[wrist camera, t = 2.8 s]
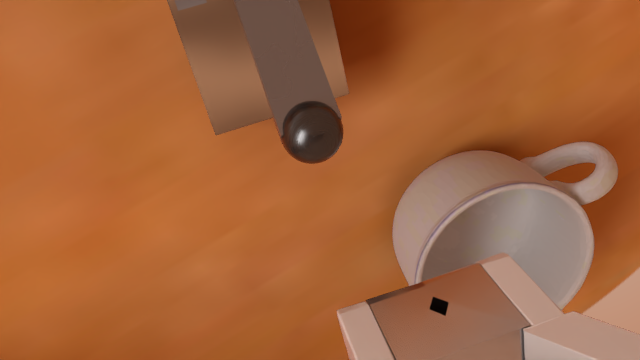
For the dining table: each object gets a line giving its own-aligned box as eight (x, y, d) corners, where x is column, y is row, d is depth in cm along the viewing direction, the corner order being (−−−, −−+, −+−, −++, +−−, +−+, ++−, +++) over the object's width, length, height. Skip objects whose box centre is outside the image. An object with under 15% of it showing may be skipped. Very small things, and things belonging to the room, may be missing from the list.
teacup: (416, 293, 41) (466, 375, 34) (344, 193, 36) (385, 266, 29) (578, 187, 40) (663, 249, 33) (529, 68, 35) (618, 112, 28)
